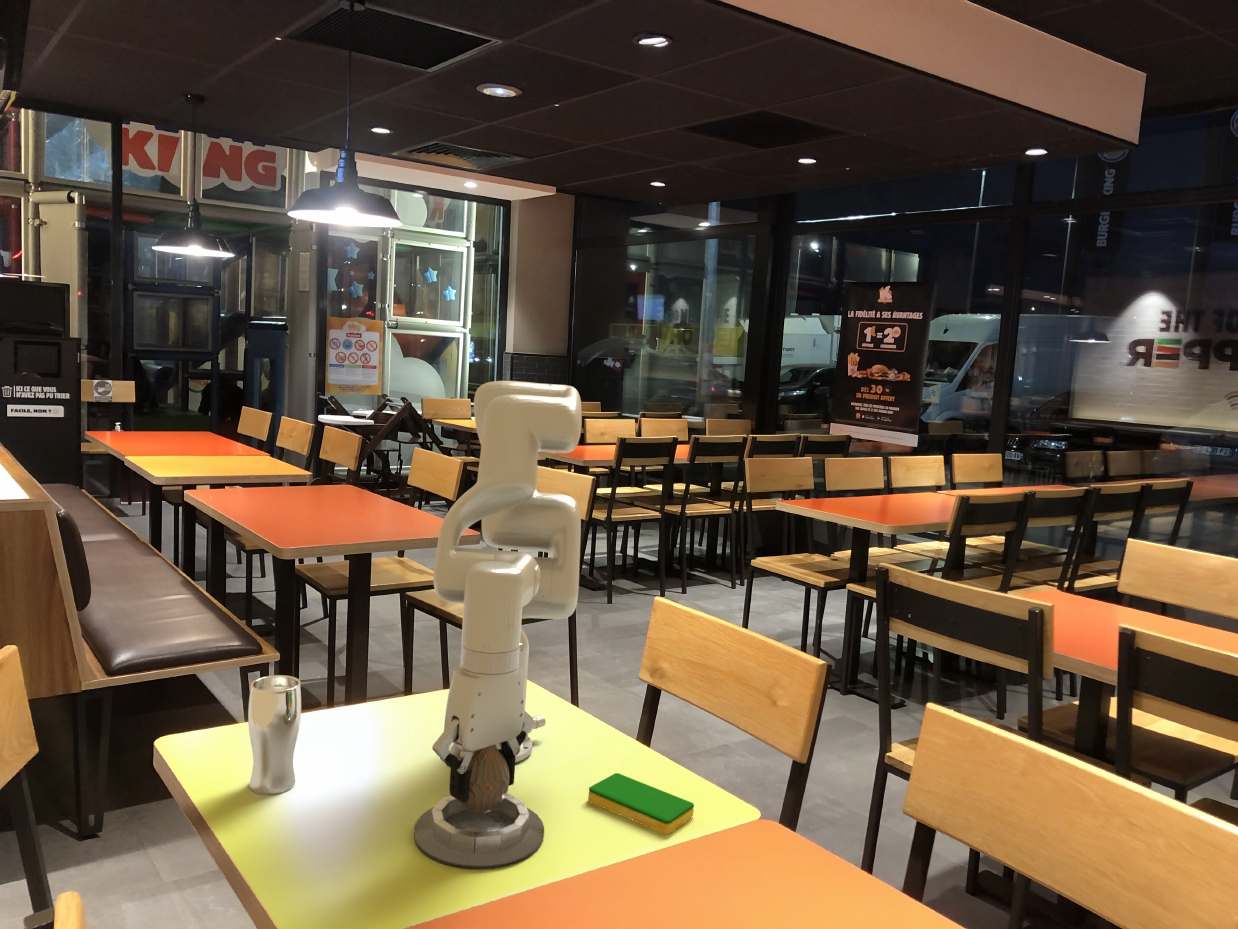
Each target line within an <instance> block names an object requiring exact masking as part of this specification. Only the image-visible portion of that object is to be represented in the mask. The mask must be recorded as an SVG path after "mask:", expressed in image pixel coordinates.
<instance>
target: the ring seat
mask: <svg viewBox="0 0 1238 929" xmlns="http://www.w3.org/2000/svg"><path fill="white" fill-rule="evenodd" d="M544 838H545V826H544V823H543V821H542V819H541V817H539V815H538V814H537V813H536V812H534V811H533V810H531V809H530V808H529V807H527V805H526V803H525V802H524V801H522V800H521V799H519V798H517V797H515V796H513V795H511V794H510V793H508V792H507V794H506V796H505V798H504V800H503V802H502V803H501V804H500V805H499V806H498V807H497V808H495V809H494V810H492V811H490V812H485V813H478V812H473V811H470V810H469V809H467V808H466V807H465V806H464V805H463V804H462V802H461V801H459V800H458V799H456V798H454V797H453V796H451V795H450V794H449V795H447V796H445V797H442V798H441V799H440V800H439V801H438V802H437V803H436V804H435V805H434V806H433V807H431V808H429V809H427V810H426V811H425V812H423V814H421V815H420V817H418V819H417V820H416V822H415V825H414V828H413V841H414V845H415V846H416V847H417V849H418V850H419V852H421V854H423V855H424V856H425V857H427V858H428V859H430V860H432V861H434V862H437V863H439V864H442V865H445V866H448V867H452V868H458V869H465V870H489V869H490V870H492V869H498V868H504V867H509V866H511V865H515V864H518V863H520V862H522V861H524V860H526V859H528V858H530V857H531V856H533V855H534V854H535V853H536V852H537V851H538V850H539V849H540V847H541V846H542V844H543V842H544Z"/></svg>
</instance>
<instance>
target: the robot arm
mask: <svg viewBox="0 0 1238 929" xmlns="http://www.w3.org/2000/svg"><path fill="white" fill-rule="evenodd" d="M579 393H580V392H579V391H578V390H577V389H576V388H575V387H574V386H571V385H567V384H553V383H541V382H540V383H538V382H532V381H531V382H529V381H517V380H498V381H497V380H496V381H495V380H494V381H490V382H489V381H488V382H485V383H483V384H481V385H480V386H479V387H478V388H477V389H476V391H475V394H474V399H473V415H474V421H475V428H476V433H477V437H478V440H479V443H480V456H479V462H478V463H479V465H478V472H477V481H476V483H475V484H474V485H473V486H472V487H471V488H469V489H468V490H467V491H466V492H464V493H463V494H462V495H461V496H460V497H459V498H458V499H457V500H456V501H455V503H453V505H452V506H451V507H450V509H449V510H448V512H447V513H446V515H445V516H444V518H443V520H442V523H441V526H440V528H439V533H438V539H437V546H436V551H435V552H436V553H435V559H434V567H433V568H434V569H433V578H432V579H433V587H434V592H435V594H436V595H437V597H438V598H439V599H440V600H442V601H444V602H446V603H451V604H463V607H462V608H463V611H462V624H461V625H462V626H461V629H462V630H461V645H460V646H461V647H460V648H461V649H460V663H459V668H455V669H454V672H453V675H452V677H451V682H450V686H449V691H448V694H447V702H446V708H445V717H444V728H443V732H442V733H441V734H440V736H439V737H438V738H437V740H435V742H434V743H433V745H432V751H433V752H434V753H435V754H436V755H437V756H438V757H439V759H440V760H441V761H442V762H443V763H444V764H445V765H446V767H448V768H449V770H450V771H449V796H450V795H451V796H453V797H454V798H456V799H458V800H459V801H461V802H463V803H465V802H467V801H468V800H469V786H470V772H468V771H466V770H467V767H468V765H469V763H470V760H471V758H472V755H473V753H474V751H477V750H480V749H483V748H486V747H489V746H492V745H496V747H497V749H498V750H499V752H500V753H501V754H502V756H503V757H504V759H505V760H506V763H507V765H508V769H509V787H510V786H513V785H514V784H515V773H516V772H515V771H516V769H515V768H516V763H519V762H520V761H524V760H525V759H526V758H528V757H529V756H530V755H531V753H532V751H533V740H532V739H531V737H529V734H531V733H532V731H533V730H536V729H539V728H542V727H545V725H546V718H545V717H544V715H542V714H539V715H536V716H531V715H530V714H529V713H528V712H527V711H526V702H527V701H526V700H527V683H528V670H529V657H530V653H529V652H530V646H529V640H528V637H527V635H526V633H525V631H524V630H523V627H522V619H523V618H527V619H543V620H544V619H546V620H549V619H551V620H562V619H566V618H569V617H571V616H572V615H573V614H574V612H575V610H576V607H577V604H578V599H579V598H578V597H579V585H580V583H579V582H580V560H581V536H582V535H581V534H582V528H581V527H582V518H581V511H580V507H579V504H578V502H577V500H576V499H575V498H574V497H572V496H569V495H567V494H563V493H553V492H539V491H538V489H537V488H538V487H537V486H538V474H539V466H538V459H539V458H538V456H539V452H545V453H560V454H567V453H572V452H573V451H574V450H575V449H576V448H577V447H578V444H579V441H580V438H581V435H582V434H581V433H582V424H583V423H582V422H583V421H582V418H583V417H582V400H581V396H580V394H579ZM479 521H481V533H482V534H481V536H482V538H483V540H484V542H485V543H486V544H487V545H488V546H491V547H493V548H497V549H490V548H489V549H487V548H473V547H472V548H470V547H467V548H466V547H459V542H460V538H461V537H462V535H463V534H464V532H465V531H467V529H468V528H470V527H471V526H472V525H473V524H475V523H477V522H479ZM498 549H500V550H498ZM501 549H503V550H501ZM523 551H528V552H529V551H530V552H544V553H548V554H549V556H550V557H543V556H542V557H541V556H539V557H538V556H532V555H531V554H529V553H527V552H523ZM451 745H452V748H451V750H450V746H451ZM459 758H460V759H459Z"/></svg>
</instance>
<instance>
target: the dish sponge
mask: <svg viewBox="0 0 1238 929" xmlns="http://www.w3.org/2000/svg"><path fill="white" fill-rule="evenodd" d="M587 797H588V799H587V800H588V803H591V802H592V803H591V804H594V805H595V804H596V806H598V807H600V806H601V807H600V808H602V807H604V808H603V809H605V808H606V809H605V810H608V811H609V810H611V811H610V812H612V811H613V812H612V813H614V812H615V813H614V814H616V813H617V814H616V815H619V814H621V815H622V816H621V815H620V816H621V817H623V816H625V817H624V818H626V817H627V818H626V819H628V818H630V819H633V820H634V821H633V820H632V821H633V822H635V821H637V822H639V823H638V824H640V823H642V824H643V826H645V825H646V826H645V827H647V826H648V828H649V827H651V828H650V829H651V830H654V829H655V830H654V831H656V830H657V831H656V832H659V831H660V832H659V833H661V832H662V834H663V833H664V834H663V835H670V834H671V833H672V832H674V831H675V830H676V828H677V827H678V828H680V827H681V826H682V825H684V824H685V823H686V822H685V821H687V820H688V819H689V818H691V817H692V816H693V817H694V807H695V804H694V803H693V802H691V801H689V800H687V799H684V798H682V797H679V796H676V795H674V794H672V793H669V792H666V791H664V790H661V789H659V788H656V787H654V786H651V785H649V784H646V783H644V782H641V781H639V780H636V779H634V778H632V777H629V776H626V775H625V774H621V773H619V772H618V773H616V772H615V773H613V774H611V775H609V776H608V777H606V778H604V779H602V780H600V781H599V782H597V783H595V784H592V785H591V786H589V788H588V795H587ZM693 817H692V818H693ZM692 818H691V819H692ZM630 819H629V820H630ZM688 821H689V820H688ZM688 821H687V822H688ZM637 822H636V823H637ZM684 822H685V823H684ZM683 823H684V824H683ZM642 824H641V825H642ZM681 824H682V825H681ZM680 825H681V826H680ZM678 828H677V829H678ZM674 829H675V830H674ZM673 830H674V831H673ZM670 832H671V833H670Z"/></svg>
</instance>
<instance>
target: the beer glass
mask: <svg viewBox="0 0 1238 929" xmlns="http://www.w3.org/2000/svg"><path fill="white" fill-rule="evenodd" d="M301 690H302V689H301V680H300V679H299V678H297V677H294V676H291V675H286V674H285V675H283V674H282V675H281V674H278V675H277V674H275V675H274V674H273V675H267V676H263V677H262V676H261V677H259V678H256V679H255V680H253V681H252V682H251V683H250V691H249V699H248V710H247V711H248V713H247V714H248V715H247V716H248V717H247V718H248V720H247V721H248V731H249V732H248V733H249V737H250V738H249V740H250V745H251V751H252V760H253V762H252V770H251V771H252V772H251V776H250V780H249V789H250V790H251V791H252V792H253V793H255V794H259V795H266V796H270V795H271V796H272V795H278V794H283V793H285V792H288V791H289V790H291V789H292V788H293V787H294V786H295V785H296V775H295V770H294V753H295V748H296V743H297V739H298V734H299V730H300V723H301V716H302V692H301Z"/></svg>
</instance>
